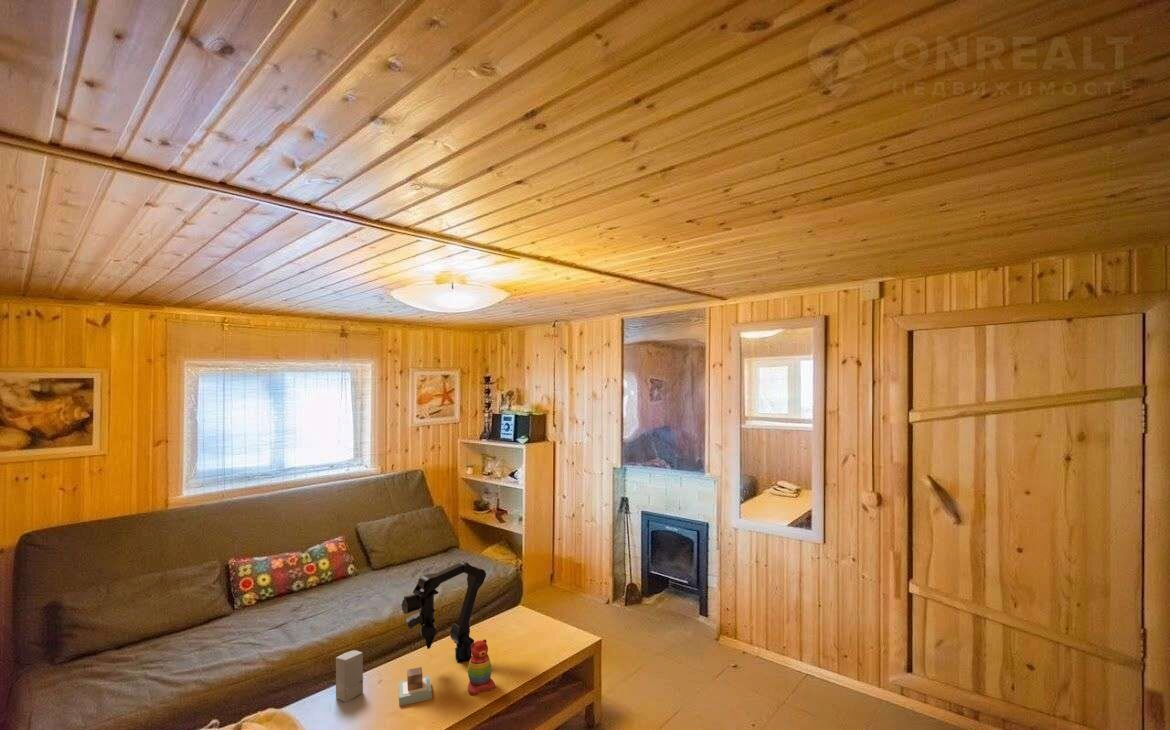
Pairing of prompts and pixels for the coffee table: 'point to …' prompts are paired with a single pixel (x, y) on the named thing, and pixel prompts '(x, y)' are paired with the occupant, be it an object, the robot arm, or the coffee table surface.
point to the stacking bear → (479, 669)
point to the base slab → (414, 692)
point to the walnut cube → (414, 678)
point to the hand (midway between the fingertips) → (427, 643)
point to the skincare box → (349, 675)
